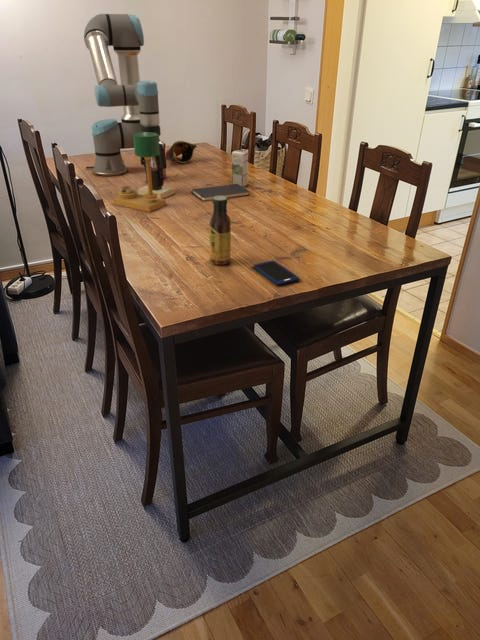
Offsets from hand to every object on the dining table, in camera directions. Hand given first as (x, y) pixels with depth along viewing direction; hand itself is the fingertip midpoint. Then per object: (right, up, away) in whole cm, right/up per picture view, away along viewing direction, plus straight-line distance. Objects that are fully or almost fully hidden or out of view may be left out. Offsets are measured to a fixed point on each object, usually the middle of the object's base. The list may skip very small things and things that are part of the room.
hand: (155, 184), depth 200 cm
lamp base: (-4, -11, -9) cm, 15 cm away
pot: (+4, +27, +52) cm, 59 cm away
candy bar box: (-3, +8, +22) cm, 23 cm away
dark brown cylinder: (0, -2, +1) cm, 2 cm away
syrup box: (+35, +4, +16) cm, 39 cm away
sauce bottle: (+29, -39, -55) cm, 74 cm away
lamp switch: (-10, -6, -9) cm, 14 cm away
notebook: (+27, -3, +4) cm, 28 cm away
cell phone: (+46, -43, -62) cm, 88 cm away
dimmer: (0, -4, +2) cm, 4 cm away
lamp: (+1, -9, -14) cm, 17 cm away
